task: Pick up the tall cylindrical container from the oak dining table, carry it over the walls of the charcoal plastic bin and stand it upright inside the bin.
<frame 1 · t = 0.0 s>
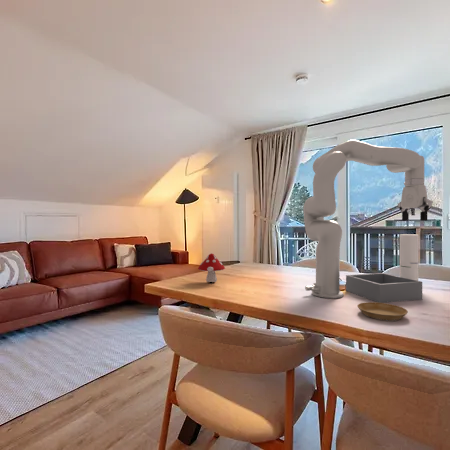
hand: (414, 220, 134), 31 cm above the table, tool pointing down, fingers open, 9 cm apart
walled bin: (381, 294, 123), on the table
cylindrical container: (408, 290, 131), on the table
decorative mushroom: (211, 283, 148), on the table
plant saucer: (381, 316, 97), on the table
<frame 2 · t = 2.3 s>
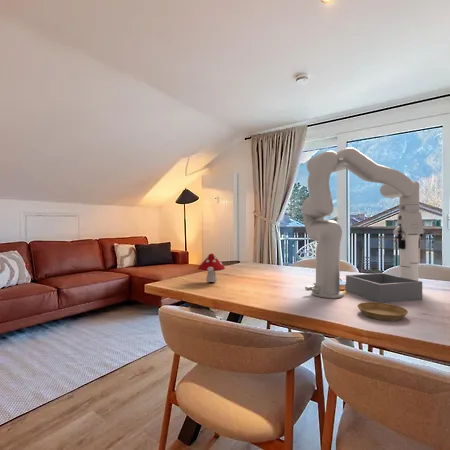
hand: (409, 248, 131), 19 cm above the table, tool pointing down, fingers closed on cylindrical container, 7 cm apart
cylindrical container: (408, 290, 131), on the table, touching gripper
everything else where it was.
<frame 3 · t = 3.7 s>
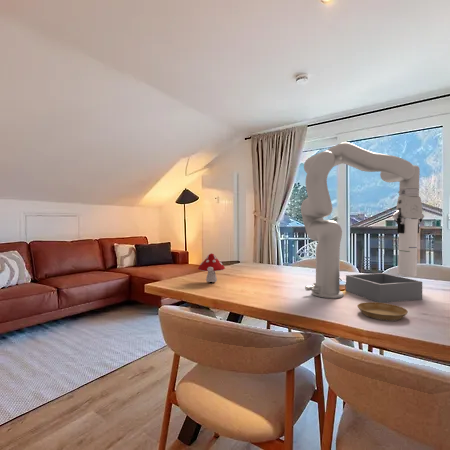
hand: (408, 232, 131), 26 cm above the table, tool pointing down, fingers closed on cylindrical container, 7 cm apart
cylindrical container: (407, 275, 131), point 7 cm above the table, touching gripper
everything else where it was.
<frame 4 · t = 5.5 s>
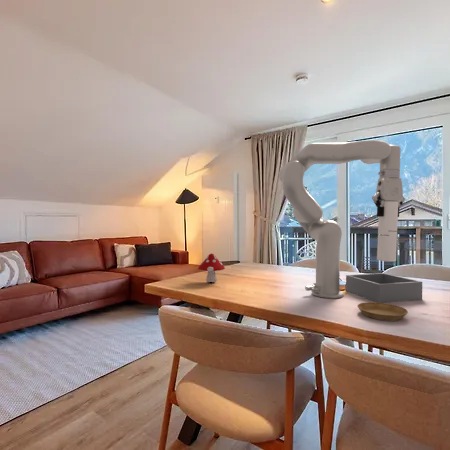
hand: (387, 216, 125), 33 cm above the table, tool pointing down, fingers closed on cylindrical container, 7 cm apart
cylindrical container: (386, 260, 125), point 14 cm above the table, touching gripper
everything else where it was.
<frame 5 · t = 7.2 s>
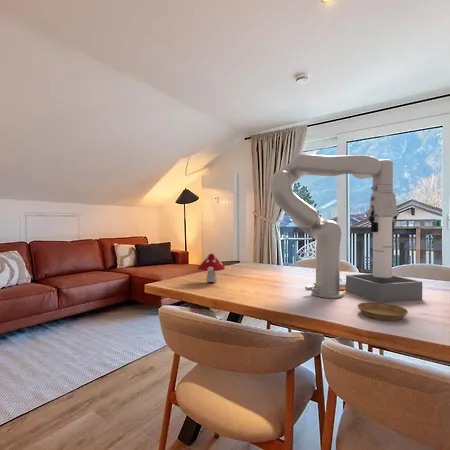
hand: (382, 231, 123), 27 cm above the table, tool pointing down, fingers closed on cylindrical container, 7 cm apart
cylindrical container: (382, 276, 123), point 8 cm above the table, touching gripper
everything else where it was.
when the fingers open (22 cm above the table, at t = 8.7 s): cylindrical container drops 2 cm, resting on walled bin.
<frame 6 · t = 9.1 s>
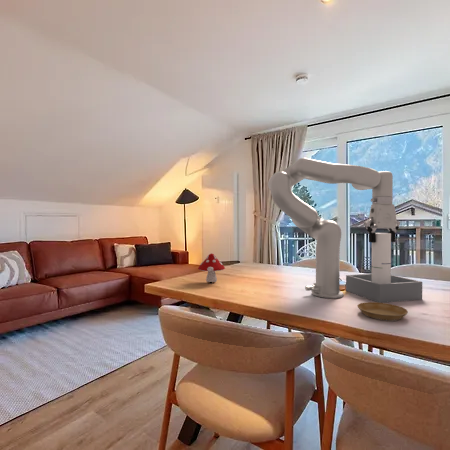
hand: (382, 242, 123), 22 cm above the table, tool pointing down, fingers open, 9 cm apart
cylindrical container: (381, 292, 123), point 1 cm above the table, touching walled bin
everything else where it was.
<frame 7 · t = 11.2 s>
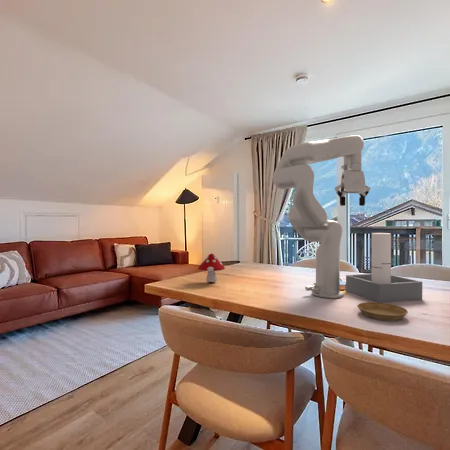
hand: (352, 205, 135), 38 cm above the table, tool pointing down, fingers open, 9 cm apart
nothing on the table moved.
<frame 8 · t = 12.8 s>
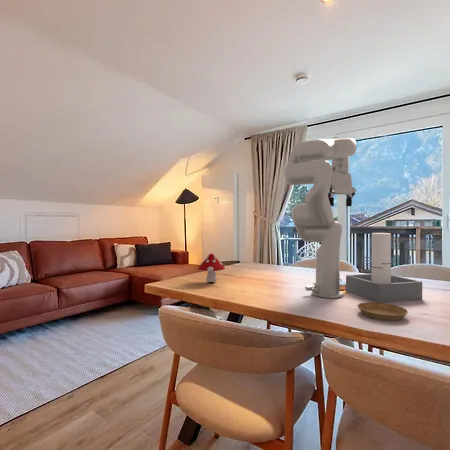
hand: (340, 206, 141), 38 cm above the table, tool pointing down, fingers open, 9 cm apart
nothing on the table moved.
at the end: cylindrical container inside the target area on the walled bin (0.4 cm from its centre), point 0.8 cm above the walled bin's base; cylindrical container tilted 0°; the gripper is holding nothing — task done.
